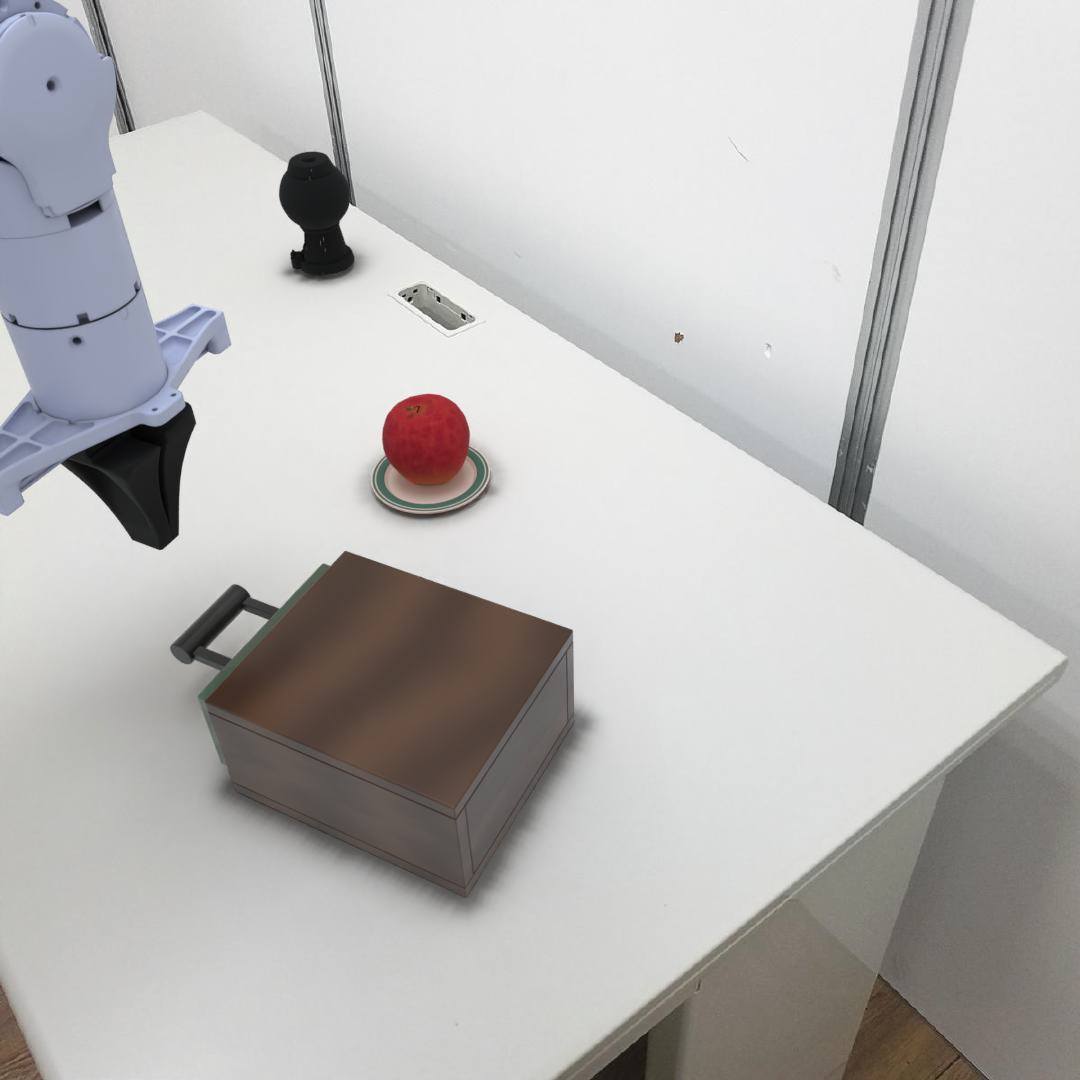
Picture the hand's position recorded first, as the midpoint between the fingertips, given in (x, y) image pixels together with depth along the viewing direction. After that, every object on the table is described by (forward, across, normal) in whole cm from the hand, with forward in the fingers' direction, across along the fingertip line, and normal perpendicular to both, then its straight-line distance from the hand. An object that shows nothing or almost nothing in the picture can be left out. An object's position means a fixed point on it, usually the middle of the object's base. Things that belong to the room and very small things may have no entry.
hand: (155, 536), depth 56 cm
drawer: (+9, 0, -10) cm, 13 cm away
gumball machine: (+11, +42, +22) cm, 49 cm away
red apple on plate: (+11, +20, -3) cm, 23 cm away
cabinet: (+10, 0, -14) cm, 17 cm away
